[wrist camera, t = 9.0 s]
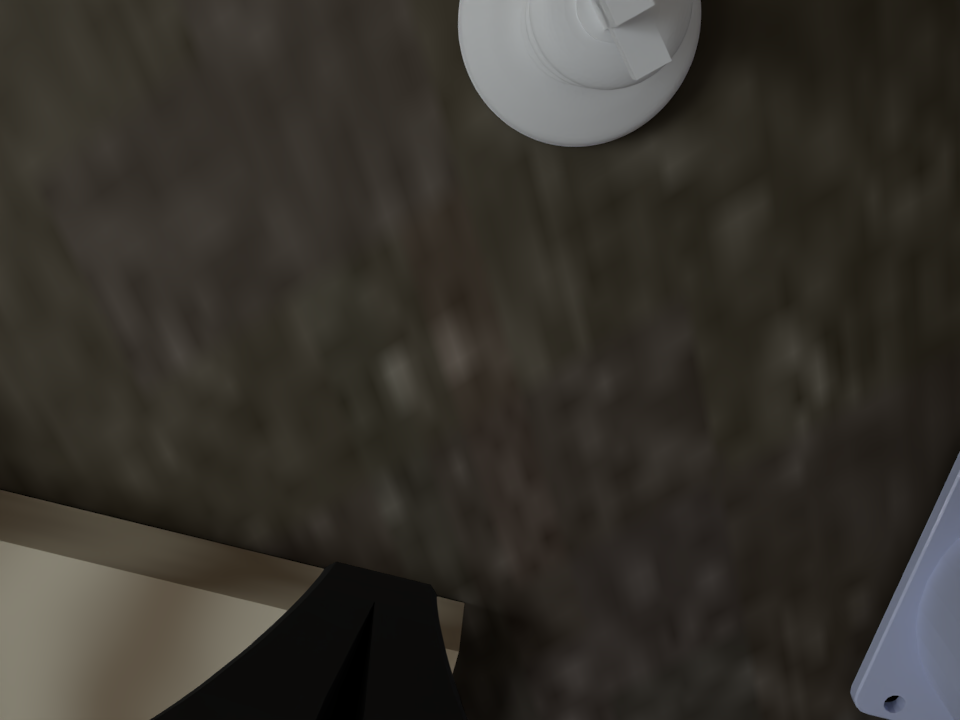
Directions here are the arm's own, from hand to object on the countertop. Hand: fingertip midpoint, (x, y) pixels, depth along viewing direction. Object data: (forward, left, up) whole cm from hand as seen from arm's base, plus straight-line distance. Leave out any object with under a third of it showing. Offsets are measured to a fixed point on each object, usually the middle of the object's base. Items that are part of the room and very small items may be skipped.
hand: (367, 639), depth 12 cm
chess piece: (-1, -8, -11) cm, 13 cm away
